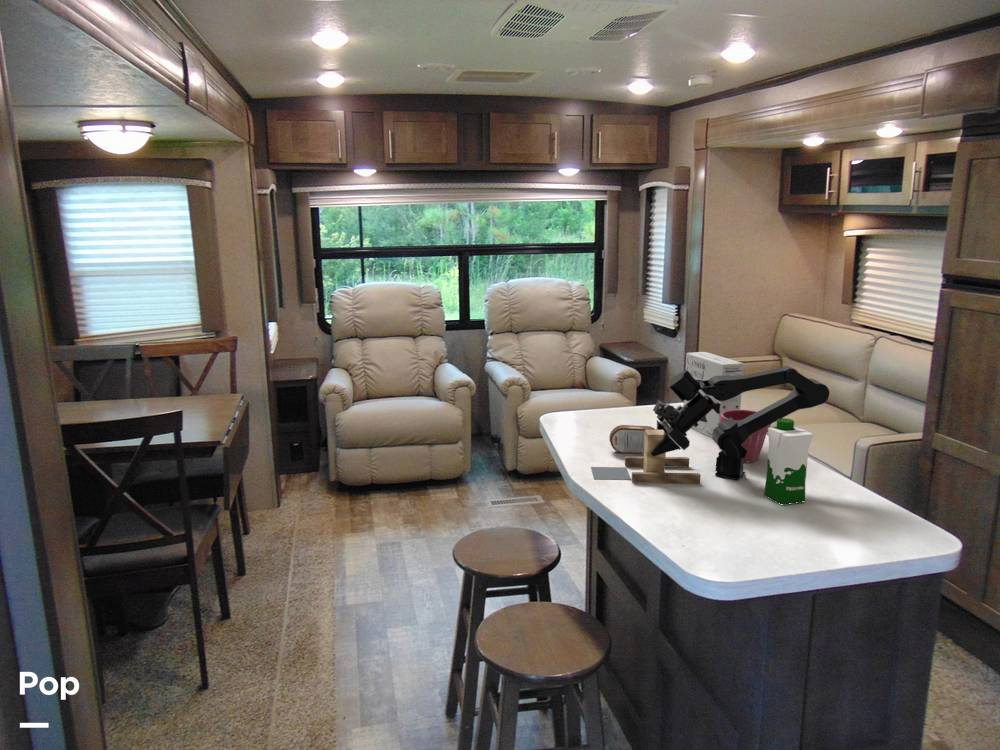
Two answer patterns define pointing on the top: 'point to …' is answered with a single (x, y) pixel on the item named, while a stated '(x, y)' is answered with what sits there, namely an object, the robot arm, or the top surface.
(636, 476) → the plinth rails
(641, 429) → the tin
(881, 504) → the top surface
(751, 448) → the plant pot
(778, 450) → the milk carton
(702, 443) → the top surface
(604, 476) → the mat
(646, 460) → the oak block
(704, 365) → the cereal box
